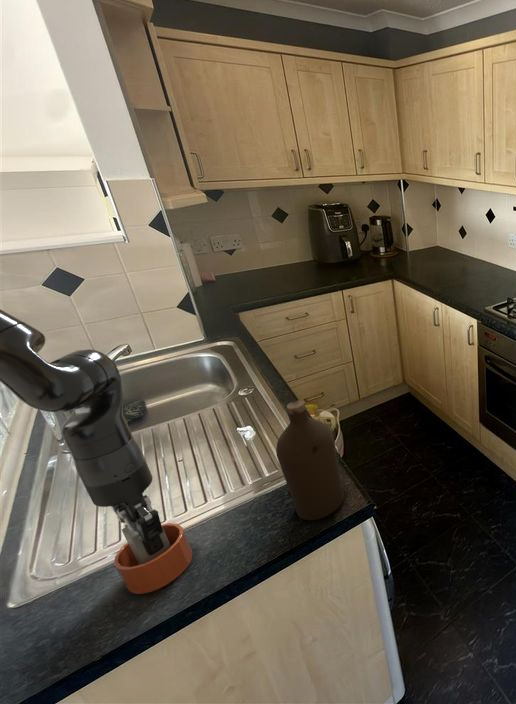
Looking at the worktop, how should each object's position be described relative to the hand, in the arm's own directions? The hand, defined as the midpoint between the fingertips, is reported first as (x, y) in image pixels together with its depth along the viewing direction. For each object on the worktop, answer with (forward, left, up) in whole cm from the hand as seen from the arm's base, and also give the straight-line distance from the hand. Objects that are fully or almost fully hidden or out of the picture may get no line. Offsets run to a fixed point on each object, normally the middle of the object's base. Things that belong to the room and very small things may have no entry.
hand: (150, 545), depth 72 cm
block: (0, 0, -5) cm, 5 cm away
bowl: (0, 0, -6) cm, 6 cm away
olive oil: (+24, -13, -6) cm, 28 cm away
